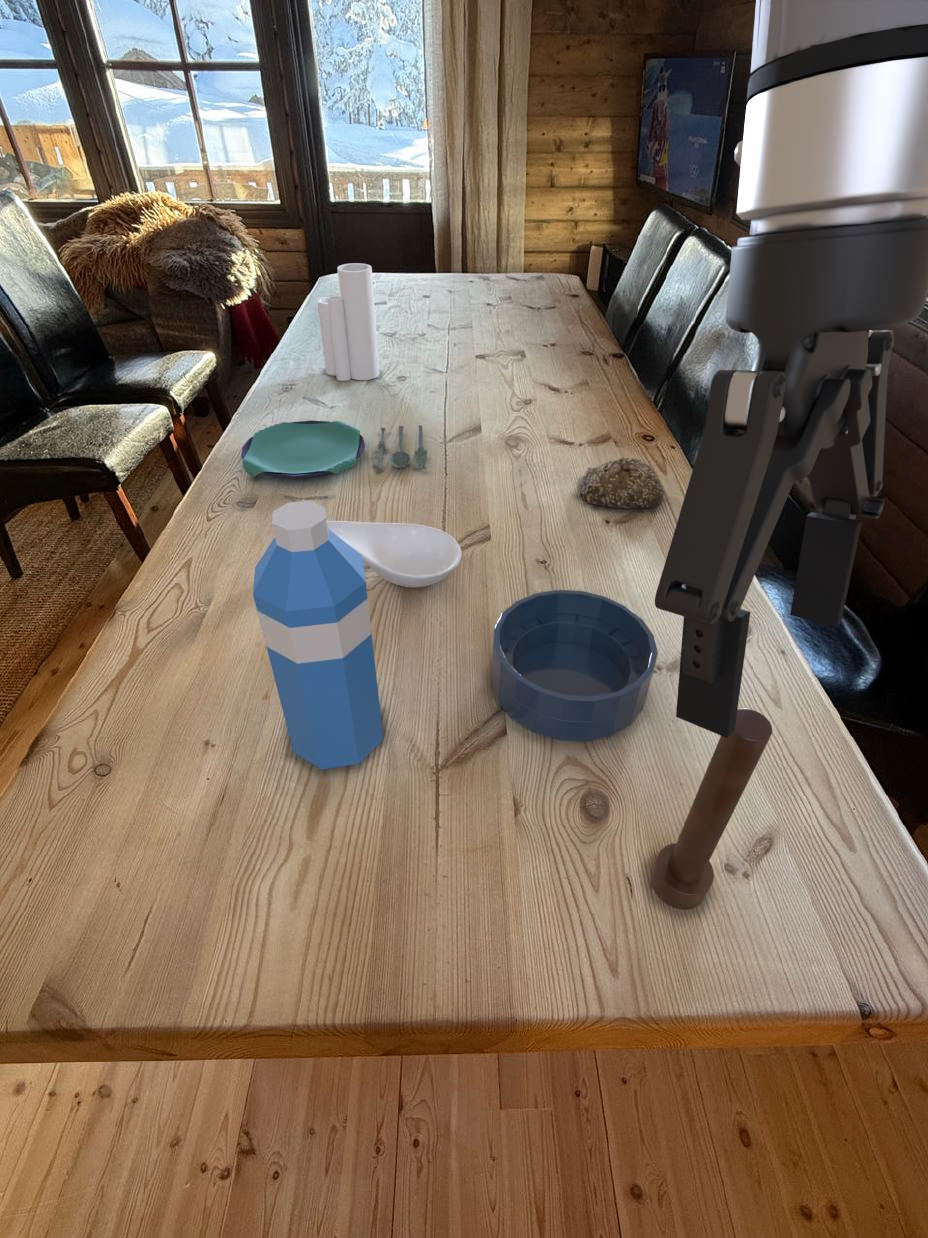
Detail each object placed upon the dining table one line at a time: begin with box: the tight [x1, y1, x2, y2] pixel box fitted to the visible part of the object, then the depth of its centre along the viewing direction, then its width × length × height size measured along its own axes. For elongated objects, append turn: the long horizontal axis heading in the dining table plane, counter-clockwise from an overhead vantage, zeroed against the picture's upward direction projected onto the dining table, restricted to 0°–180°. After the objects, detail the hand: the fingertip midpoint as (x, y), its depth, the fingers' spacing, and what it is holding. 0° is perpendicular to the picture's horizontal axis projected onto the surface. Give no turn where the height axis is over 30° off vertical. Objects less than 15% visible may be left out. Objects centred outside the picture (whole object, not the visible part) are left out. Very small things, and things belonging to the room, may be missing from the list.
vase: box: [316, 262, 380, 382], centre depth 130 cm, size 11×7×20 cm, turn 89°
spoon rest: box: [327, 520, 462, 588], centre depth 82 cm, size 24×12×7 cm, turn 94°
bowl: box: [490, 589, 659, 743], centre depth 68 cm, size 16×16×6 cm
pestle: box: [650, 708, 773, 911], centre depth 47 cm, size 4×4×20 cm
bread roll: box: [579, 456, 665, 510], centre depth 100 cm, size 13×12×5 cm
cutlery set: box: [240, 420, 428, 479], centre depth 108 cm, size 20×30×2 cm, turn 93°
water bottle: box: [252, 500, 384, 771], centre depth 57 cm, size 9×9×25 cm
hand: (765, 666), depth 36 cm, fingers open, 13 cm apart
